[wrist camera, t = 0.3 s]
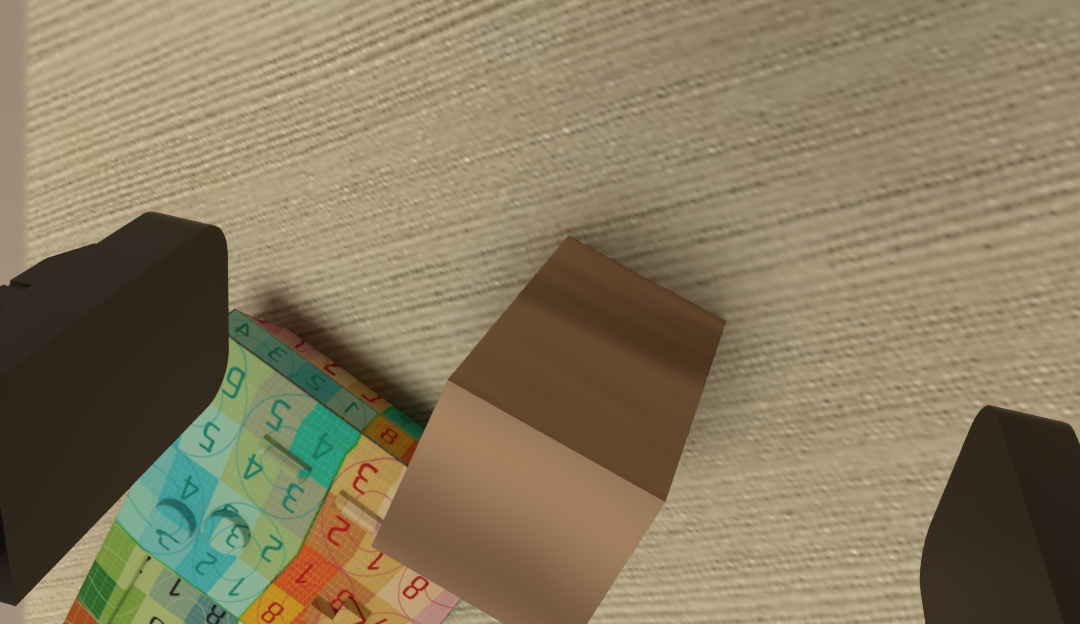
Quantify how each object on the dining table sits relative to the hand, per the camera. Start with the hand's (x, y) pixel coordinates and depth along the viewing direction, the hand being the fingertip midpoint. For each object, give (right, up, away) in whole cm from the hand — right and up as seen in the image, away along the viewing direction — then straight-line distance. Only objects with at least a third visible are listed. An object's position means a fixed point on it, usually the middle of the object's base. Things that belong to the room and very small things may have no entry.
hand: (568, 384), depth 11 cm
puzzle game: (-10, -9, +30) cm, 33 cm away
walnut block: (+2, 0, +22) cm, 22 cm away
